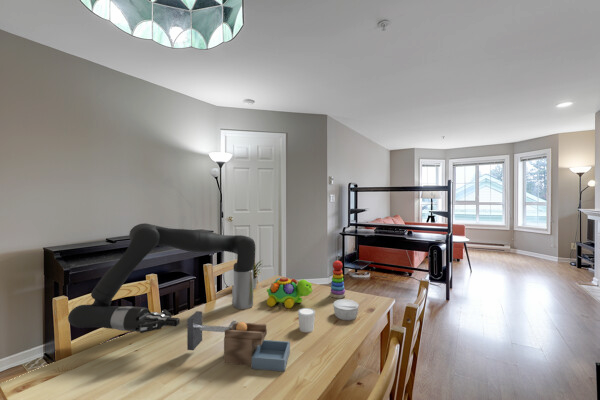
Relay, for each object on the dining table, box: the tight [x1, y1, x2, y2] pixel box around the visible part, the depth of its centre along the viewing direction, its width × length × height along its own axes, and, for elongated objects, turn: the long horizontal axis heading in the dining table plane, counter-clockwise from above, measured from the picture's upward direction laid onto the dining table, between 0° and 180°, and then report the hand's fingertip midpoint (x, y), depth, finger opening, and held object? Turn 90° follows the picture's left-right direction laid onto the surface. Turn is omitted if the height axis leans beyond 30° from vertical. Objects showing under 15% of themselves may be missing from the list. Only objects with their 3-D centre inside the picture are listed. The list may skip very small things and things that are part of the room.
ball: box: [236, 321, 247, 331], centre depth 88 cm, size 4×4×4 cm
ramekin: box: [332, 298, 360, 321], centre depth 119 cm, size 11×11×5 cm
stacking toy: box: [329, 260, 346, 299], centre depth 142 cm, size 8×8×19 cm
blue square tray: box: [251, 339, 291, 372], centre depth 87 cm, size 10×10×4 cm
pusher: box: [186, 310, 237, 351], centre depth 89 cm, size 14×6×10 cm, turn 83°
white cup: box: [297, 307, 316, 333], centre depth 107 cm, size 7×7×7 cm
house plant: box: [253, 260, 264, 290], centre depth 154 cm, size 14×14×16 cm
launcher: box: [223, 321, 268, 366], centre depth 88 cm, size 12×7×10 cm, turn 83°
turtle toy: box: [266, 277, 313, 309], centre depth 134 cm, size 17×23×12 cm
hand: (178, 322), depth 90 cm, fingers closed
